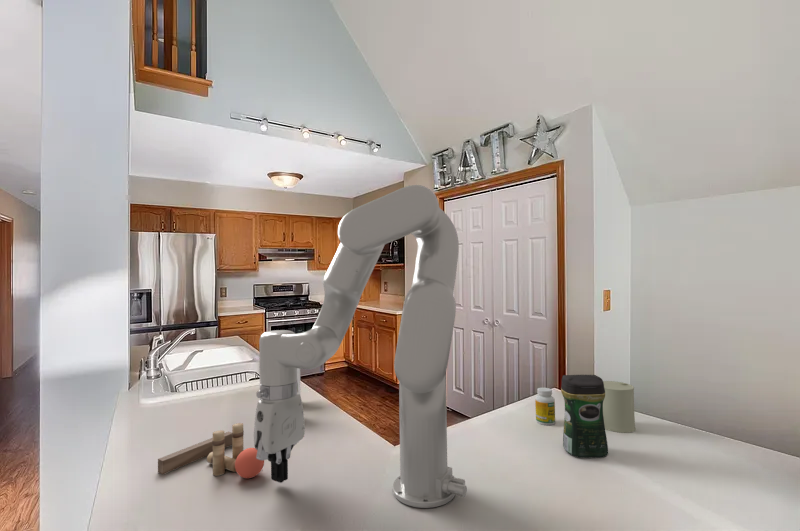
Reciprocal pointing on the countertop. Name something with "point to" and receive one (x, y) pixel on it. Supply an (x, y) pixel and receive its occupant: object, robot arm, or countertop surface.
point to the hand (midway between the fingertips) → (279, 479)
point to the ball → (248, 463)
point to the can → (619, 407)
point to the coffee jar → (584, 416)
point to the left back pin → (218, 453)
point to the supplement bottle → (545, 407)
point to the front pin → (228, 462)
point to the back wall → (189, 454)
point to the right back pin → (237, 439)
